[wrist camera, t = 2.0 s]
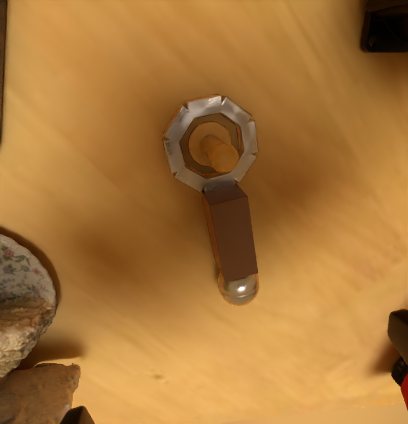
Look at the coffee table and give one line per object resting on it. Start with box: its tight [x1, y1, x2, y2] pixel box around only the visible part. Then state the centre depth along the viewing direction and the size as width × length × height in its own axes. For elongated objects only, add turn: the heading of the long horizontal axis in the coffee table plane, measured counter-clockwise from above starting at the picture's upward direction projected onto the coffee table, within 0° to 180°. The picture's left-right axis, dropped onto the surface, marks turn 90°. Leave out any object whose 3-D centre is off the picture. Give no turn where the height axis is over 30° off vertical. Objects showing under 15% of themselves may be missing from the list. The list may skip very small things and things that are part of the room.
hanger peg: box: [188, 121, 239, 173], centre depth 16 cm, size 3×3×4 cm
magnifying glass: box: [162, 94, 259, 306], centre depth 19 cm, size 14×5×3 cm, turn 11°
